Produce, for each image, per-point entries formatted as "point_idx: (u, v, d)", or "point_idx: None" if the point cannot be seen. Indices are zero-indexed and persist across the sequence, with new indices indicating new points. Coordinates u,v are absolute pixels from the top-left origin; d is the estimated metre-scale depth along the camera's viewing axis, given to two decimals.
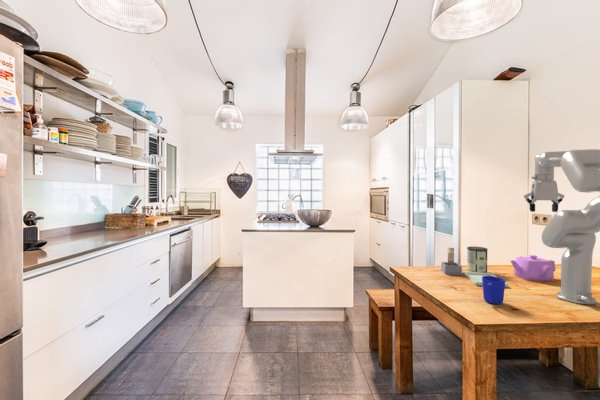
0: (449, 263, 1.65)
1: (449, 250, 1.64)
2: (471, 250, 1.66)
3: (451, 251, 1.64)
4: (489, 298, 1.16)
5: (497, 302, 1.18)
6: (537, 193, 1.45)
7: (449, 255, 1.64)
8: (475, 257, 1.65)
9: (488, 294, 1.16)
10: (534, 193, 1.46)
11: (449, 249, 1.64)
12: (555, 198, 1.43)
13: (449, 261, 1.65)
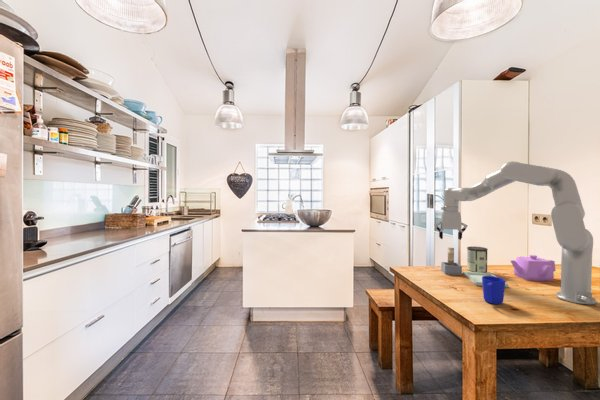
0: (449, 263, 1.65)
1: (449, 250, 1.64)
2: (471, 250, 1.66)
3: (451, 251, 1.64)
4: (489, 298, 1.16)
5: (497, 302, 1.18)
6: (444, 223, 1.64)
7: (449, 255, 1.64)
8: (475, 257, 1.65)
9: (488, 294, 1.16)
10: (442, 222, 1.65)
11: (449, 249, 1.64)
12: (458, 228, 1.62)
13: (449, 261, 1.65)
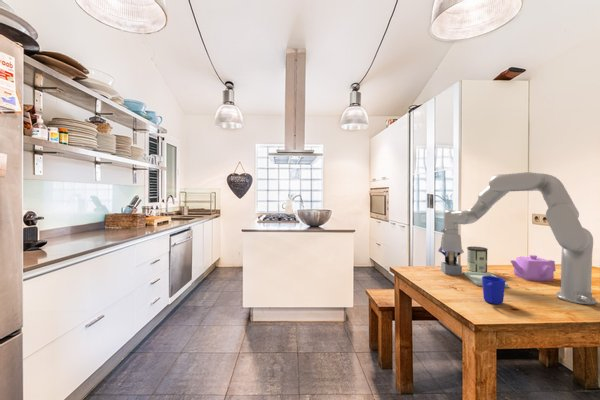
0: (449, 263, 1.65)
1: None
2: (471, 250, 1.66)
3: None
4: (489, 298, 1.16)
5: (497, 302, 1.18)
6: (444, 245, 1.64)
7: (449, 255, 1.64)
8: (475, 257, 1.65)
9: (488, 294, 1.16)
10: (442, 245, 1.65)
11: None
12: (458, 251, 1.62)
13: (449, 261, 1.65)
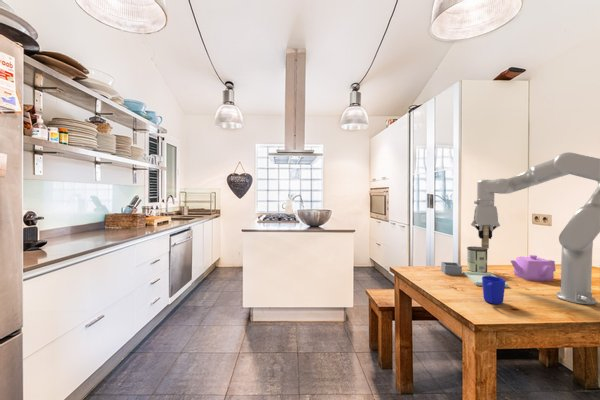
0: (483, 238, 1.49)
1: None
2: (471, 250, 1.66)
3: None
4: (489, 298, 1.16)
5: (497, 302, 1.18)
6: (478, 218, 1.48)
7: (483, 229, 1.49)
8: (475, 257, 1.65)
9: (488, 294, 1.16)
10: (476, 218, 1.49)
11: None
12: (495, 224, 1.46)
13: (483, 236, 1.49)
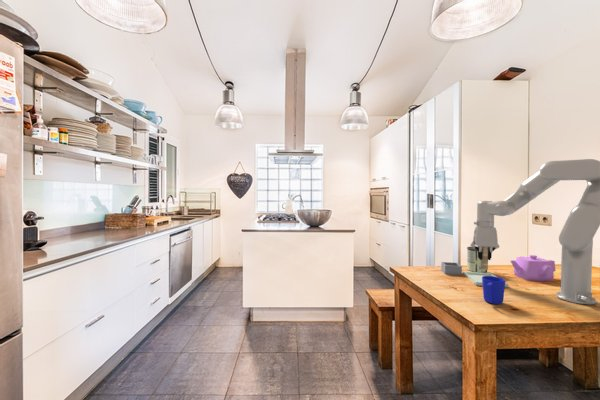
0: (483, 259, 1.49)
1: None
2: (471, 250, 1.66)
3: None
4: (489, 298, 1.16)
5: (497, 302, 1.18)
6: (478, 239, 1.48)
7: (483, 250, 1.49)
8: (475, 257, 1.65)
9: (488, 294, 1.16)
10: (475, 239, 1.49)
11: None
12: (494, 245, 1.46)
13: (482, 257, 1.49)
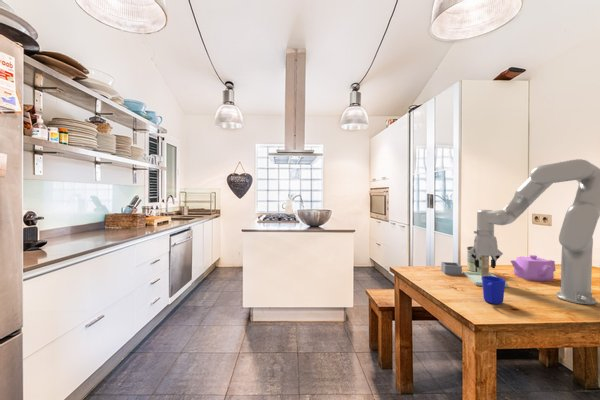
0: (483, 270, 1.49)
1: (483, 256, 1.49)
2: None
3: (486, 257, 1.48)
4: (489, 298, 1.16)
5: (497, 302, 1.18)
6: (478, 248, 1.48)
7: (483, 261, 1.49)
8: None
9: (488, 294, 1.16)
10: (475, 248, 1.49)
11: None
12: (494, 254, 1.46)
13: (483, 268, 1.49)
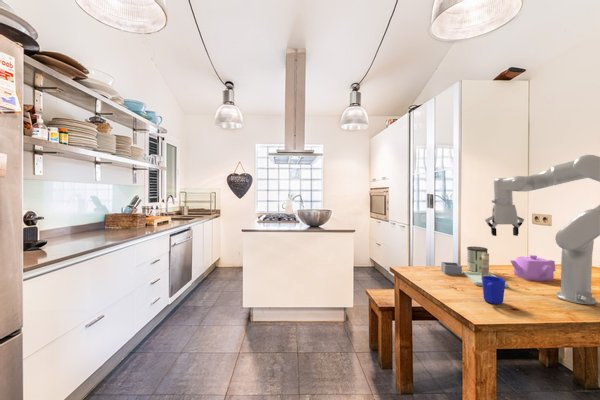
0: (483, 270, 1.49)
1: (484, 256, 1.49)
2: (471, 250, 1.66)
3: (486, 257, 1.48)
4: (489, 298, 1.16)
5: (497, 302, 1.18)
6: (497, 217, 1.44)
7: (483, 261, 1.49)
8: (475, 257, 1.65)
9: (488, 294, 1.16)
10: (494, 217, 1.45)
11: (484, 255, 1.49)
12: (514, 222, 1.43)
13: (483, 268, 1.49)
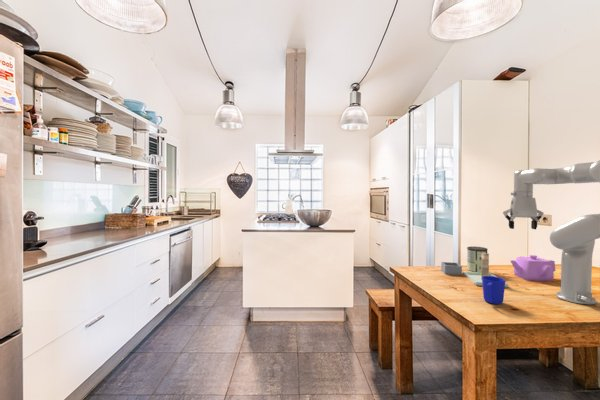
0: (483, 270, 1.49)
1: (483, 256, 1.49)
2: (471, 250, 1.66)
3: (486, 257, 1.48)
4: (489, 298, 1.16)
5: (497, 302, 1.18)
6: (516, 210, 1.42)
7: (483, 261, 1.49)
8: (475, 257, 1.65)
9: (488, 294, 1.16)
10: (513, 210, 1.43)
11: (483, 255, 1.49)
12: (533, 216, 1.40)
13: (483, 268, 1.49)
